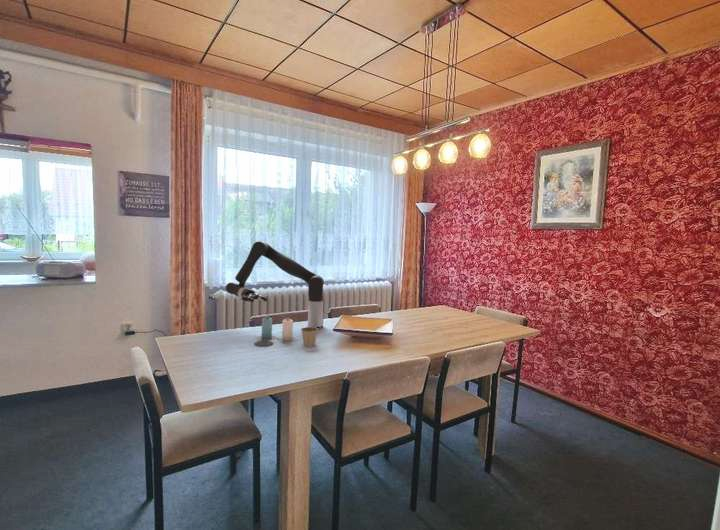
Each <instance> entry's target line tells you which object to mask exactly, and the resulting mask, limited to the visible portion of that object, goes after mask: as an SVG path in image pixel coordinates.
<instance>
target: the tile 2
mask: <svg viewBox="0 0 720 530" xmlns="http://www.w3.org/2000/svg"><path fill="white" fill-rule="evenodd" d="M276 338H277V339H275V340H276V341H278V342H279V343H282V344H289V343H294V342H299V341H300V340H299V339H297V338H295V337H293V336H292V340H291V341H283V340H282V337H276Z"/></svg>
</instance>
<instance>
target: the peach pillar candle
mask: <svg viewBox="0 0 720 530" xmlns="http://www.w3.org/2000/svg"><path fill="white" fill-rule="evenodd" d="M293 329H294V320H293V319H292V318H291V319H290V317H287V318H285V319H282V331H281V333H282V334H281V335H282V336H281V338H282V340H283V341H291V340H292V337H293V334H294V333H293Z"/></svg>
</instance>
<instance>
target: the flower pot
mask: <svg viewBox="0 0 720 530" xmlns="http://www.w3.org/2000/svg"><path fill="white" fill-rule="evenodd" d="M300 331H301V334H302V343H303V345H304V346H308V347H309V346H310V347H312V346H315V345H316V339H317V334H318V331H319V328H314V327H308V326H307V327H306V326H305V327H302V328H300Z"/></svg>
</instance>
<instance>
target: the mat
mask: <svg viewBox="0 0 720 530" xmlns="http://www.w3.org/2000/svg"><path fill="white" fill-rule="evenodd" d="M274 344H275V343H274V342H272V340H270V341H260V340H258V341H256V342H255V343H254V344H253V345H254V346H255V347H259V348H267V347H271V346H274Z"/></svg>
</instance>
